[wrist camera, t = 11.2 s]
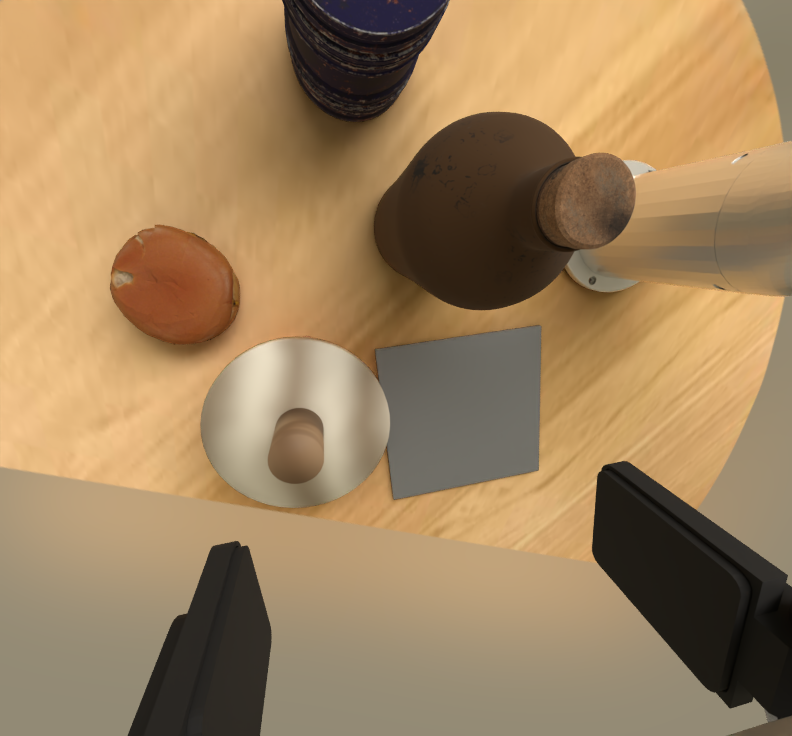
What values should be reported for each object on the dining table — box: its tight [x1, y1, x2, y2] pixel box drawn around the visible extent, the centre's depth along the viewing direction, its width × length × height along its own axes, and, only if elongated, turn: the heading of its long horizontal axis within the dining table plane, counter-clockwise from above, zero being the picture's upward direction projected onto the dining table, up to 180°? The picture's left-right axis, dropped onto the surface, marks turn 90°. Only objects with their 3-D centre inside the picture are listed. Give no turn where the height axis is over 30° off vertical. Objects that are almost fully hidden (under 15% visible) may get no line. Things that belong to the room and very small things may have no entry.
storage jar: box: [282, 0, 450, 122], centre depth 25 cm, size 10×10×15 cm
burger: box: [110, 225, 240, 344], centre depth 33 cm, size 10×9×5 cm
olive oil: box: [374, 112, 636, 310], centre depth 25 cm, size 11×11×25 cm
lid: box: [201, 337, 390, 508], centre depth 31 cm, size 16×16×6 cm
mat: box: [375, 325, 541, 500], centre depth 44 cm, size 18×18×1 cm
